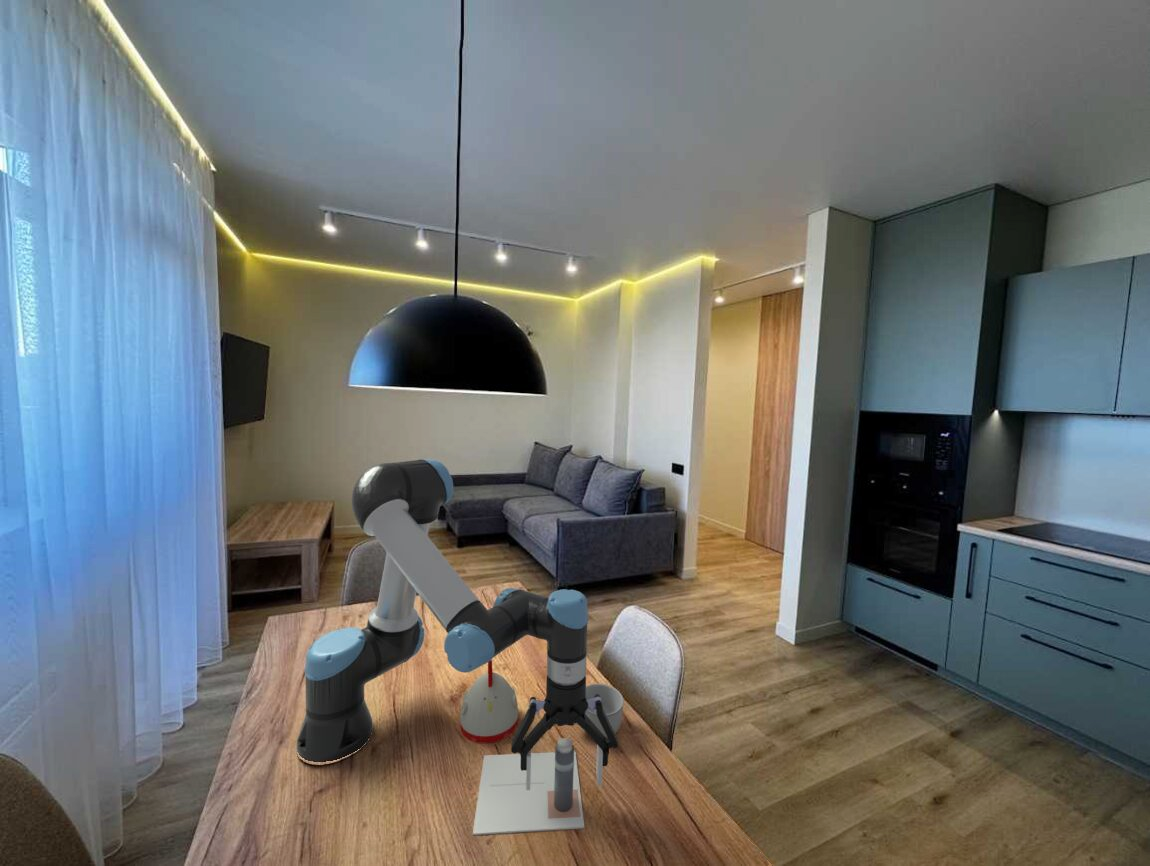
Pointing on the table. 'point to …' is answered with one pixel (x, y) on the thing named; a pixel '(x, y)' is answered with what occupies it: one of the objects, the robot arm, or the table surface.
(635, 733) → the table surface
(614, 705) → the teacup
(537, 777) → the paper
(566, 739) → the marker
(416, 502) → the robot arm
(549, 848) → the table surface
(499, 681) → the kitchen timer
